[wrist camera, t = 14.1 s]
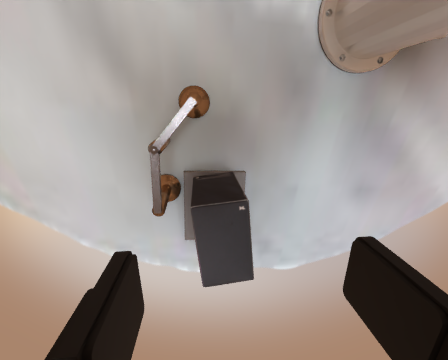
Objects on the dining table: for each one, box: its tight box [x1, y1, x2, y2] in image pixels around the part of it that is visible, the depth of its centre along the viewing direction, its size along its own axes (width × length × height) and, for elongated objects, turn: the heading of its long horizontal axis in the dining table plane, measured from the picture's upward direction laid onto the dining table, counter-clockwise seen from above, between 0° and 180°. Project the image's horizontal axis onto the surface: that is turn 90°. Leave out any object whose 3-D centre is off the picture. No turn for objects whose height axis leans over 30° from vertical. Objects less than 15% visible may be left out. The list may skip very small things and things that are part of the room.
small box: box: [191, 172, 254, 287], centre depth 29 cm, size 11×6×10 cm, turn 6°
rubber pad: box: [184, 171, 246, 240], centre depth 34 cm, size 9×11×1 cm
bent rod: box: [148, 86, 210, 216], centre depth 27 cm, size 5×17×9 cm, turn 159°
